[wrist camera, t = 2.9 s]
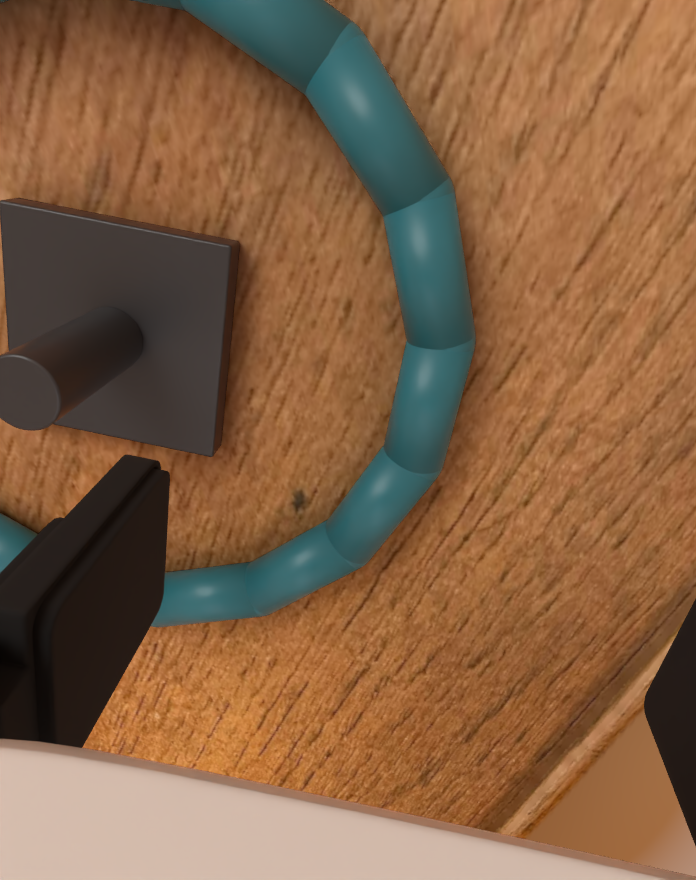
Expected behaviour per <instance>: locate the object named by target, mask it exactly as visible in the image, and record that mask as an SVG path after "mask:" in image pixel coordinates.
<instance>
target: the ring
mask: <svg viewBox="0 0 696 880" xmlns="http://www.w3.org/2000/svg"><path fill="white" fill-rule="evenodd" d="M5 1H8V0H0V3H2V2H5ZM131 1H136V2H142V3H147V4H153V5H158V6H163V7H169V8H174V9H180V10H185V11H187V12H188V13H190V14H191V15H193V16H194V17H195V18H197V19H198V20H200V21H201V22H203V23H204V24H205V25H207V26H208V27H210V28H211V29H212V30H214V31H215V32H217V33H218V34H220V35H221V36H222V37H224V38H225V39H227V40H228V41H229V42H231V43H232V44H234V45H235V46H237V47H238V48H239V49H241V50H242V51H244V52H245V53H246V54H248V55H249V56H251V57H252V58H254V59H255V60H256V61H258V62H259V63H261V64H262V65H264V66H265V67H266V68H268V69H269V70H271V71H272V72H273V73H275V74H276V75H278V76H279V77H281V78H282V79H283V80H285V81H286V82H288V83H289V84H290V85H292V86H293V87H295V88H296V89H298V90H299V91H300V92H302V93H303V94H305V95H306V97H307V98H308V100H309V101H310V103H311V104H312V106H313V108H314V109H315V111H316V112H317V114H318V115H319V117H320V118H321V120H322V122H323V123H324V125H325V126H326V128H327V129H328V131H329V132H330V134H331V136H332V137H333V139H334V140H335V142H336V143H337V145H338V146H339V148H340V150H341V151H342V153H343V154H344V156H345V157H346V159H347V161H348V162H349V164H350V165H351V167H352V168H353V170H354V171H355V173H356V175H357V176H358V178H359V179H360V181H361V182H362V184H363V185H364V187H365V189H366V190H367V192H368V193H369V195H370V196H371V198H372V199H373V201H374V203H375V204H376V206H377V207H378V209H379V210H380V212H381V213H382V215H383V218H384V224H385V229H386V234H387V239H388V245H389V250H390V255H391V260H392V265H393V271H394V276H395V281H396V286H397V292H398V297H399V302H400V307H401V312H402V318H403V323H404V328H405V333H406V339H407V341H406V346H405V351H404V355H403V360H402V364H401V369H400V374H399V378H398V383H397V387H396V392H395V396H394V401H393V406H392V410H391V415H390V419H389V424H388V428H387V433H386V438H385V442H384V446H383V447H382V448H381V450H380V451H379V452H378V454H377V455H376V456H375V458H374V459H373V460H372V462H371V463H370V464H369V466H368V467H367V468H366V470H365V471H364V472H363V474H362V475H361V476H360V478H359V479H358V480H357V482H356V483H355V484H354V486H353V487H352V488H351V490H350V491H349V492H348V494H347V495H346V496H345V498H344V499H343V500H342V502H341V503H340V504H339V506H338V507H337V508H336V510H335V511H334V512H333V514H332V515H331V516H330V518H329V519H328V520H326V521H324V522H322V523H321V524H319V525H317V526H315V527H313V528H312V529H310V530H308V531H306V532H304V533H303V534H301V535H299V536H297V537H295V538H294V539H292V540H290V541H288V542H286V543H285V544H283V545H281V546H279V547H277V548H276V549H274V550H272V551H270V552H268V553H267V554H265V555H263V556H261V557H259V558H257V559H256V560H254V561H252V562H246V563H238V564H230V565H222V566H213V567H205V568H197V569H189V570H181V571H173V572H165V580H164V595H163V600H162V603H161V606H160V609H159V611H158V613H157V615H156V617H155V619H154V621H153V622H152V624H151V626H152V627H168V626H177V625H187V624H196V623H206V622H215V621H224V620H234V619H243V618H253V617H262V616H266V615H269V614H272V613H273V612H275V611H277V610H279V609H281V608H283V607H285V606H287V605H289V604H291V603H293V602H295V601H297V600H299V599H301V598H303V597H305V596H307V595H309V594H311V593H312V592H314V591H316V590H318V589H320V588H322V587H324V586H326V585H328V584H330V583H332V582H334V581H336V580H338V579H340V578H342V577H344V576H346V575H348V574H350V573H351V572H353V571H355V570H357V569H359V568H361V567H363V566H364V565H366V564H367V563H368V562H369V561H370V559H371V558H372V557H373V556H374V554H375V553H376V552H377V551H378V550H379V548H380V547H381V546H382V545H383V543H384V542H385V541H386V540H387V539H388V537H389V536H390V535H391V534H392V532H393V531H394V530H395V529H396V528H397V526H398V525H399V524H400V523H401V521H402V520H403V519H404V518H405V517H406V515H407V514H408V513H409V512H410V510H411V509H412V508H413V507H414V506H415V504H416V503H417V502H418V501H419V499H420V498H421V497H422V496H423V495H424V493H425V492H426V491H427V490H428V488H429V487H430V486H431V485H432V484H433V482H434V481H435V480H436V479H437V477H438V476H439V474H440V473H441V471H442V468H443V465H444V461H445V458H446V454H447V450H448V447H449V443H450V439H451V435H452V432H453V428H454V424H455V420H456V417H457V413H458V409H459V406H460V402H461V398H462V394H463V391H464V387H465V383H466V379H467V376H468V372H469V368H470V364H471V361H472V357H473V353H474V350H475V344H476V333H475V326H474V319H473V312H472V306H471V299H470V292H469V285H468V278H467V272H466V265H465V258H464V251H463V244H462V238H461V231H460V224H459V217H458V211H457V204H456V197H455V191H454V187H453V183H452V181H451V179H450V177H449V175H448V173H447V172H446V170H445V168H444V167H443V165H442V163H441V162H440V160H439V158H438V157H437V155H436V153H435V152H434V150H433V148H432V147H431V145H430V143H429V141H428V140H427V138H426V136H425V135H424V133H423V131H422V130H421V128H420V126H419V125H418V123H417V121H416V120H415V118H414V116H413V115H412V113H411V111H410V110H409V108H408V106H407V105H406V103H405V101H404V100H403V98H402V96H401V95H400V93H399V91H398V89H397V88H396V86H395V84H394V83H393V81H392V79H391V78H390V76H389V74H388V73H387V71H386V69H385V68H384V66H383V64H382V63H381V61H380V59H379V58H378V56H377V54H376V53H375V51H374V49H373V48H372V46H371V44H370V42H369V41H368V39H367V37H366V36H365V34H364V33H363V31H362V30H361V29H360V28H359V27H358V26H357V25H356V24H355V23H354V22H353V21H351V20H350V19H349V18H347V17H346V16H344V15H343V14H342V13H340V12H339V11H338V10H336V9H335V8H334V7H332V6H331V5H329V4H328V3H327V2H325V1H324V0H131ZM37 535H38V534H37V533H35V532H34V531H32V530H30V529H28V528H26V527H25V526H23V525H21V524H19V523H17V522H16V521H14V520H12V519H10V518H8V517H7V516H5V515H3V514H1V513H0V573H1V572H2V571H3V570H4V569H5V567H6V566H7V565H8V564H9V563H10V562H11V561H12V560H13V559H14V558H15V557H16V556H17V555H18V554H19V553H20V552H21V551H22V550H23V549H24V548H25V547H26V546H27V545H28V544H29V543H30V542H31V541H32V540H33V539H34V538H35V537H36V536H37Z"/></svg>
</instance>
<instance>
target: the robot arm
mask: <svg viewBox="0 0 696 880" xmlns="http://www.w3.org/2000/svg"><path fill="white" fill-rule="evenodd" d="M169 486H170V475H169V472H168V471H164V470H161V466H160V463H159V461H156V460H151V459H146V458H142V457H137V456H132V455H124V456H123V457H122V458H121V459H120V460H119V461H118V462H117V463H116V464H115V465H114V466H113V467H112V468H111V469H110V470H109V472H108V473H107V474H106V475H105V476H104V477H103V478H102V479H101V480H100V481H99V482H98V483H97V484H96V485H95V486H94V487H93V488H92V489H91V490H90V492H89V493H88V494H87V495H86V496H85V497H84V498H83V499H82V500H81V501H80V502H79V503H78V504H77V505H76V506H75V507H74V508H73V509H72V510H71V511H70V513H69V514H68V515H67V516H66V517H65V518H56V519H54V520H53V521H51V522H50V523H49V524H48V525H47V526H46V527H45V528H44V529H43V530H42V531H41V532H40V533H39V534H38V535H37V536H36V537H35V538H34V539H33V540H32V541H31V542H30V543H29V544H28V545H27V546H26V547H25V548H24V549H23V550H22V551H21V552H20V553H19V554H18V555H17V556H16V557H15V558H14V559H13V560H12V561H11V562H10V563H9V564H8V565H7V566H6V567H5V569H4V570H3V571H2V572H1V573H0V880H696V877H695V876H690V875H685V874H681V873H677V872H672V871H667V870H663V869H659V868H654V867H650V866H645V865H640V864H636V863H632V862H627V861H623V860H618V859H613V858H609V857H605V856H600V855H595V854H591V853H587V852H582V851H577V850H573V849H568V848H564V847H559V846H554V845H550V844H545V843H540V842H536V841H531V840H526V839H522V838H517V837H513V836H508V835H504V834H499V833H494V832H490V831H485V830H481V829H476V828H471V827H467V826H462V825H457V824H453V823H448V822H443V821H439V820H434V819H429V818H425V817H420V816H415V815H411V814H406V813H401V812H397V811H392V810H387V809H383V808H378V807H374V806H369V805H364V804H359V803H354V802H350V801H345V800H340V799H335V798H331V797H326V796H321V795H316V794H312V793H307V792H302V791H297V790H293V789H288V788H283V787H278V786H273V785H269V784H264V783H259V782H254V781H250V780H245V779H240V778H235V777H231V776H226V775H221V774H216V773H212V772H207V771H202V770H197V769H191V768H186V767H181V766H176V765H171V764H165V763H160V762H155V761H150V760H145V759H139V758H134V757H129V756H124V755H119V754H113V753H108V752H103V751H98V750H92V749H85V748H82V747H83V745H84V743H85V741H86V740H87V738H88V736H89V734H90V733H91V731H92V729H93V727H94V725H95V724H96V722H97V720H98V718H99V717H100V715H101V713H102V711H103V709H104V708H105V706H106V704H107V702H108V701H109V699H110V697H111V695H112V693H113V692H114V690H115V688H116V686H117V685H118V683H119V681H120V679H121V678H122V676H123V674H124V672H125V670H126V669H127V667H128V665H129V663H130V662H131V660H132V658H133V656H134V654H135V653H136V651H137V649H138V647H139V646H140V644H141V642H142V640H143V638H144V637H145V635H146V633H147V631H148V630H149V628H150V626H151V624H152V622H153V621H154V619H155V617H156V615H157V613H158V611H159V609H160V606H161V603H162V600H163V595H164V580H165V561H166V543H167V524H168V505H169ZM644 710H645V715H646V718H647V721H648V723H649V726H650V729H651V731H652V734H653V736H654V739H655V742H656V744H657V747H658V749H659V752H660V754H661V757H662V760H663V762H664V765H665V767H666V770H667V773H668V775H669V778H670V780H671V783H672V785H673V788H674V791H675V794H676V796H677V799H678V801H679V804H680V807H681V809H682V812H683V814H684V817H685V819H686V822H687V825H688V827H689V830H690V833H691V835H692V838H693V840H694V843H695V845H696V599H695V601H694V603H693V605H692V607H691V609H690V611H689V613H688V615H687V617H686V619H685V620H684V622H683V624H682V626H681V628H680V630H679V632H678V634H677V636H676V638H675V640H674V641H673V643H672V645H671V647H670V649H669V651H668V653H667V655H666V657H665V659H664V660H663V662H662V664H661V666H660V668H659V670H658V672H657V674H656V676H655V678H654V680H653V681H652V683H651V685H650V687H649V689H648V691H647V693H646V696H645V701H644Z"/></svg>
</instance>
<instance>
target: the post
mask: <svg viewBox="0 0 696 880" xmlns="http://www.w3.org/2000/svg"><path fill="white" fill-rule="evenodd" d="M0 220H1V235H2V251H3V267H4V282H5V298H6V314H7V329H8V345H9V351H8V352H6V353H4V354H2V355H0V418H1V419H2V420H4V421H5V422H7V423H8V424H10V425H12V426H14V427H16V428H19V429H23V430H41V429H44V428H47V427H49V426H50V425H52V424H55V425H60V426H65V427H70V428H74V429H79V430H84V431H89V432H94V433H98V434H103V435H108V436H113V437H118V438H123V439H127V440H132V441H137V442H142V443H147V444H151V445H156V446H161V447H166V448H171V449H176V450H180V451H185V452H190V453H195V454H200V455H204V456H209V457H213V456H214V454H215V453H216V451H217V450H218V448H219V447H220V446H221V440H222V430H223V419H224V408H225V398H226V387H227V376H228V366H229V355H230V344H231V334H232V323H233V312H234V302H235V291H236V280H237V270H238V259H239V248H240V243H239V242H238V241H235V240H230V239H225V238H220V237H215V236H209V235H204V234H199V233H194V232H189V231H184V230H179V229H174V228H169V227H164V226H159V225H154V224H148V223H143V222H138V221H133V220H128V219H123V218H118V217H113V216H108V215H103V214H98V213H92V212H87V211H82V210H77V209H72V208H67V207H62V206H57V205H52V204H47V203H42V202H37V201H31V200H26V199H21V198H15V199H7V200H1V201H0Z"/></svg>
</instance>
